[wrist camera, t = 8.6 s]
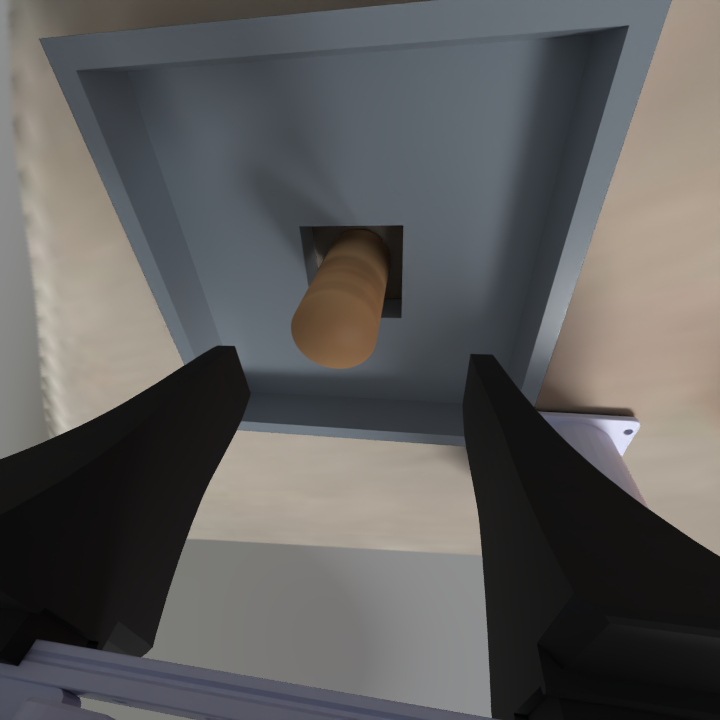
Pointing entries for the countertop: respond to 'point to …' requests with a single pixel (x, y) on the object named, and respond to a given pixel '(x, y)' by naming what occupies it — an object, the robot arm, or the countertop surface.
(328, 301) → the peg
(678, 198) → the countertop surface
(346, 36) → the open top box
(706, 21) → the countertop surface
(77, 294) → the countertop surface
